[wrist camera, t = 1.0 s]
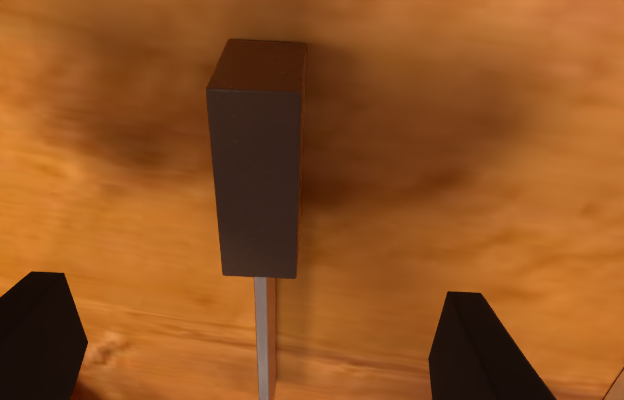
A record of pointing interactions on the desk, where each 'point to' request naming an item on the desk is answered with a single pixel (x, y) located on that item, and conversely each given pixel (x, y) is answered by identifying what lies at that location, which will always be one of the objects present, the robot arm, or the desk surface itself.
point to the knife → (259, 173)
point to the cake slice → (617, 389)
